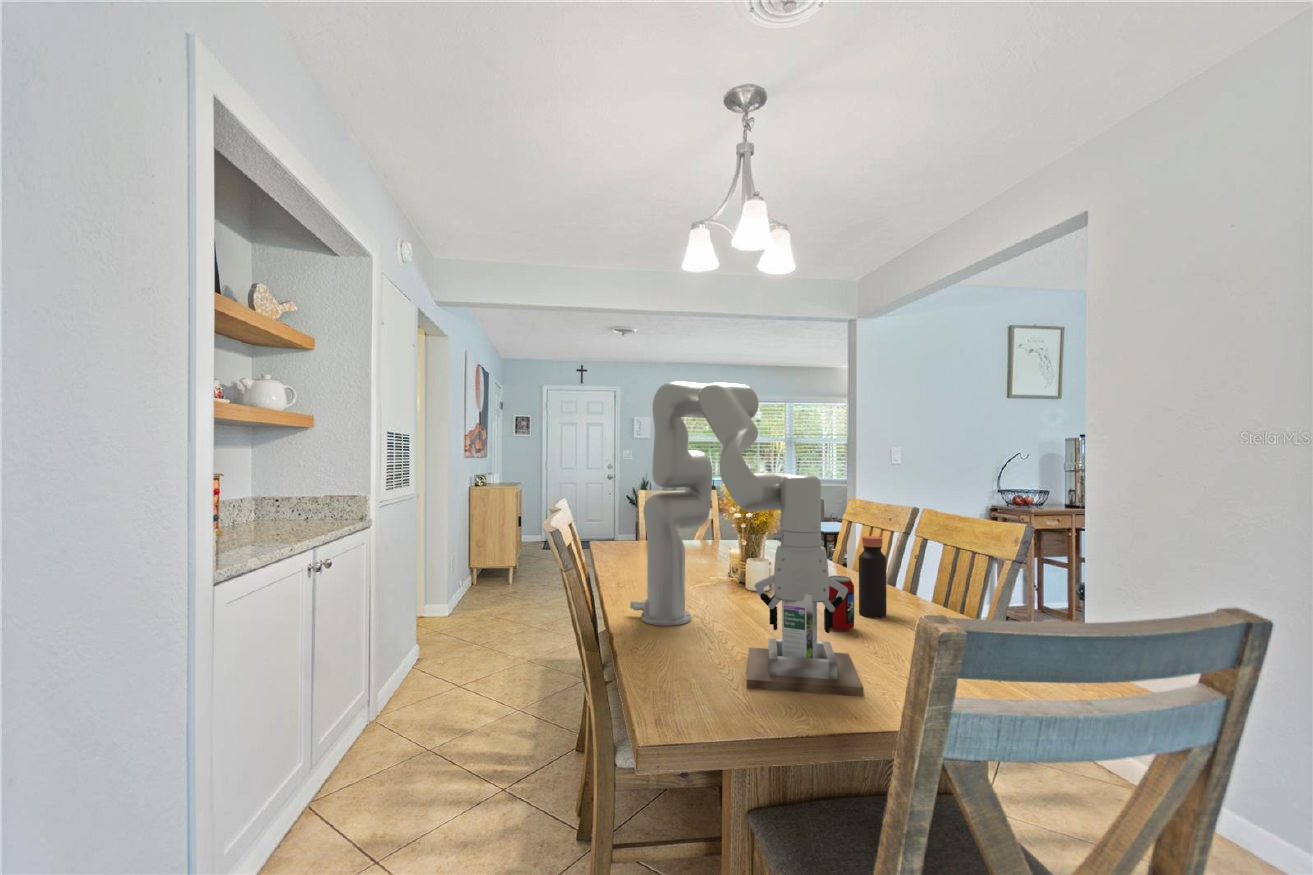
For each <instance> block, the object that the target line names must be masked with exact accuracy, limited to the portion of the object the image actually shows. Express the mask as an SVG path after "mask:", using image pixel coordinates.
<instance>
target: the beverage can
mask: <svg viewBox="0 0 1313 875" xmlns="http://www.w3.org/2000/svg"><path fill="white" fill-rule="evenodd" d="M829 578H831V579H833V580H835V581H837V582H839V583H840V584H842V585H844V586H846V587H847V588H848V592H847V594H846V596H845V598H844V599H843V602H842V603H841V604H840V605H839V606H838V607H837V608H836V609H835V611H834V612H833V628H830V630H832V631H835V632H849V631H850V630H852V629H854V628H855V585H854V583H853V581H852V578H851V577H848V576H843V575H829ZM838 592H839V591H838V590H837V589H835V588H833V587H831V586H829V600H830V601H831V600H832V599H834V598H835V597H836V596H837V594H838ZM825 608H826V606H825V605H824V609H825Z"/></svg>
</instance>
